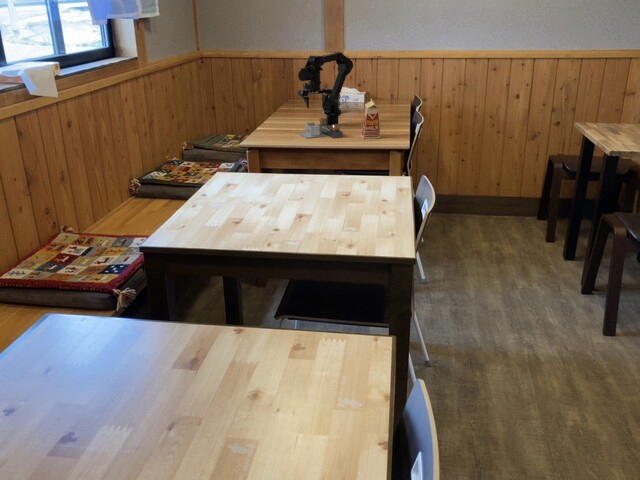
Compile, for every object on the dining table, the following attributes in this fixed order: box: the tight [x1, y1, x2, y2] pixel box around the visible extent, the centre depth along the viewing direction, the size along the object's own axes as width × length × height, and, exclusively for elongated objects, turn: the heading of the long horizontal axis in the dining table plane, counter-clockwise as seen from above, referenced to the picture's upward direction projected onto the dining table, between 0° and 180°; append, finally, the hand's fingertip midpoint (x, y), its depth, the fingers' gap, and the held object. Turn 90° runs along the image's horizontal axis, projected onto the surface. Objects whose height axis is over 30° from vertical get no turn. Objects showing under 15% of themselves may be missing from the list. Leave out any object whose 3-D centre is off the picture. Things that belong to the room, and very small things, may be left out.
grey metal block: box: [304, 122, 320, 136], centre depth 314 cm, size 8×5×6 cm, turn 24°
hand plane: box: [317, 117, 344, 139], centre depth 317 cm, size 22×6×7 cm, turn 24°
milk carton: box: [360, 98, 381, 140], centre depth 307 cm, size 9×9×20 cm
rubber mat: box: [297, 132, 328, 140], centre depth 315 cm, size 12×12×1 cm
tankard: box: [321, 86, 342, 115], centre depth 376 cm, size 20×13×15 cm, turn 179°
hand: (315, 107), depth 325 cm, fingers open, 9 cm apart
